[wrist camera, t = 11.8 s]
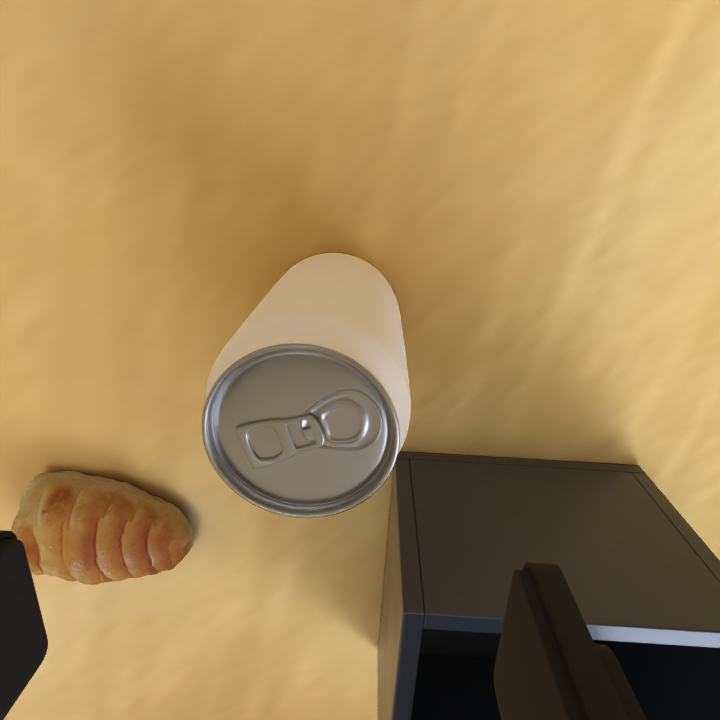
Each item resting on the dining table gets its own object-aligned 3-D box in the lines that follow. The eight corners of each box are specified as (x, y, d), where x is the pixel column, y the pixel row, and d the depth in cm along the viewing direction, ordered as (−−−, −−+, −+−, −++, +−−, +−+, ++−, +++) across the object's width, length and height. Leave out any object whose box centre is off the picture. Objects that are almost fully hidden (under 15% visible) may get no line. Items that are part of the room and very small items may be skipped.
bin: (394, 450, 28) (402, 612, 18) (639, 464, 28) (785, 636, 18) (377, 649, 34) (377, 854, 24) (580, 662, 34) (665, 875, 24)
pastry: (197, 480, 29) (172, 524, 26) (198, 568, 32) (176, 619, 28) (36, 461, 29) (-11, 503, 26) (51, 551, 32) (10, 600, 28)
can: (414, 356, 26) (440, 504, 15) (296, 387, 27) (237, 549, 16) (379, 233, 24) (378, 299, 13) (252, 272, 25) (146, 365, 13)
